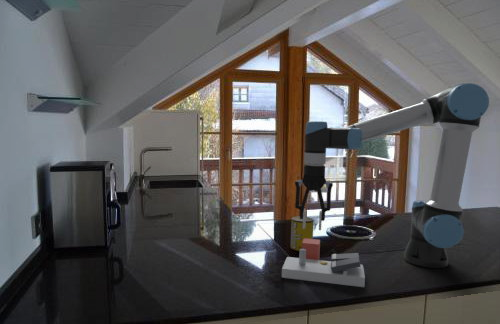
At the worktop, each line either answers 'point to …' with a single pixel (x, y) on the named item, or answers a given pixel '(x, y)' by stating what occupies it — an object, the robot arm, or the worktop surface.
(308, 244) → the red rectangular block
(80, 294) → the worktop surface
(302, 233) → the beverage can
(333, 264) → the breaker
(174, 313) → the worktop surface
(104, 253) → the worktop surface
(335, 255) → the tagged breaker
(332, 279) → the panel
